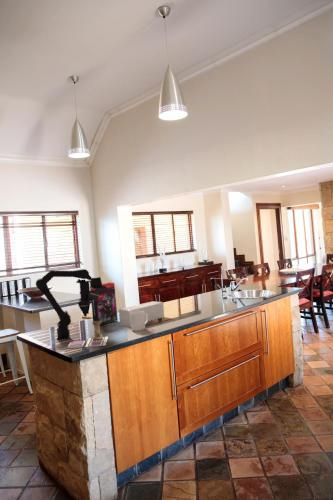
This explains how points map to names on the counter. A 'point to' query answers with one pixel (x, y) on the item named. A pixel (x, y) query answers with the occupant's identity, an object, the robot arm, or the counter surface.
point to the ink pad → (76, 344)
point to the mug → (138, 320)
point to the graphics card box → (105, 304)
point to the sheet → (96, 342)
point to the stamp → (97, 330)
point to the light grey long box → (152, 308)
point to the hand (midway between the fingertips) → (86, 315)
